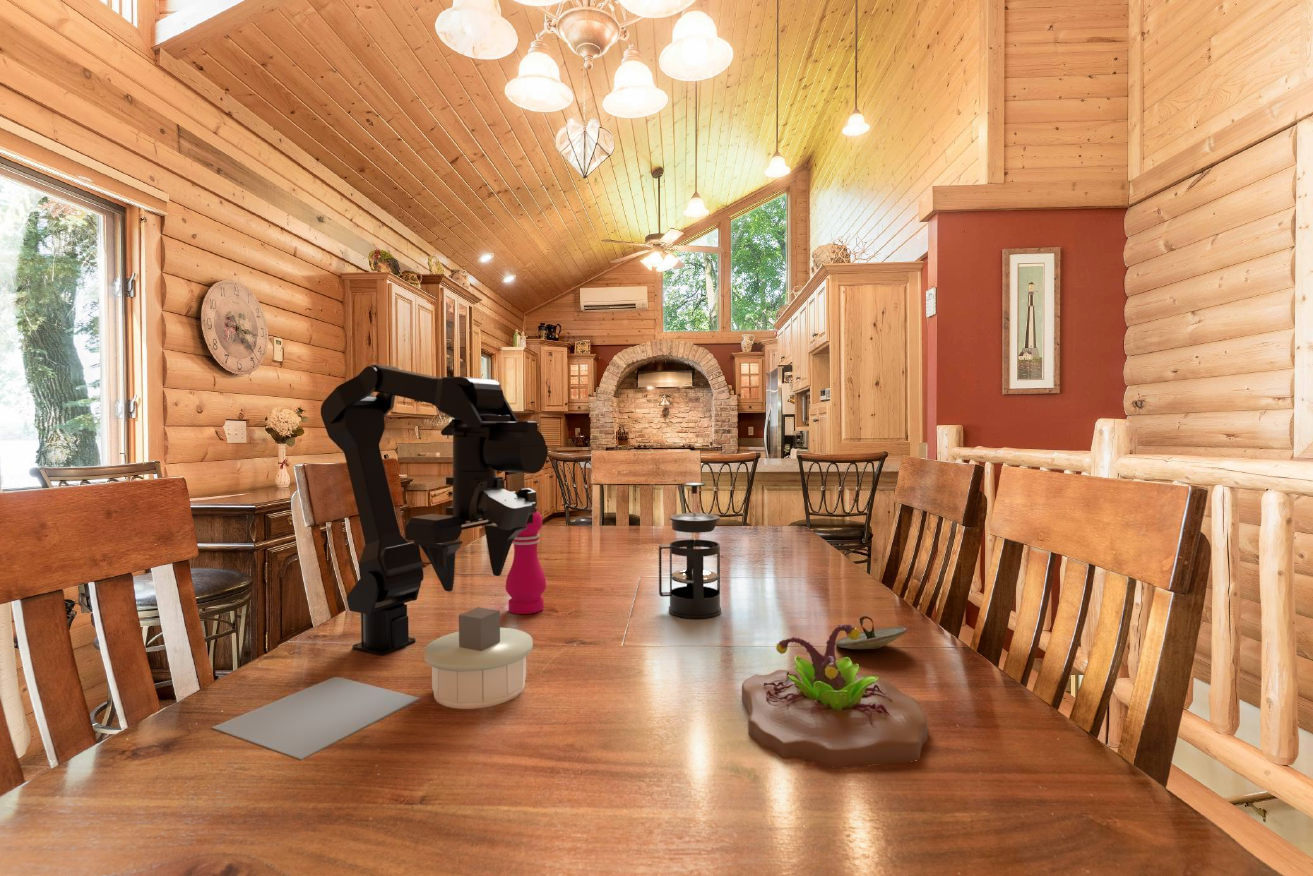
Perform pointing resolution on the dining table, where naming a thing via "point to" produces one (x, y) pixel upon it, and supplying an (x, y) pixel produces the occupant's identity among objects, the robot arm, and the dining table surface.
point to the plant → (833, 711)
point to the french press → (693, 566)
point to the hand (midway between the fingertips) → (473, 583)
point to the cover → (478, 644)
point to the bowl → (478, 686)
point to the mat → (316, 716)
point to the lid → (872, 637)
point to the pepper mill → (526, 572)
